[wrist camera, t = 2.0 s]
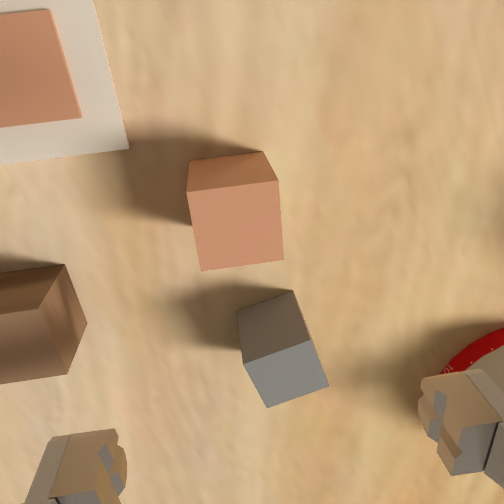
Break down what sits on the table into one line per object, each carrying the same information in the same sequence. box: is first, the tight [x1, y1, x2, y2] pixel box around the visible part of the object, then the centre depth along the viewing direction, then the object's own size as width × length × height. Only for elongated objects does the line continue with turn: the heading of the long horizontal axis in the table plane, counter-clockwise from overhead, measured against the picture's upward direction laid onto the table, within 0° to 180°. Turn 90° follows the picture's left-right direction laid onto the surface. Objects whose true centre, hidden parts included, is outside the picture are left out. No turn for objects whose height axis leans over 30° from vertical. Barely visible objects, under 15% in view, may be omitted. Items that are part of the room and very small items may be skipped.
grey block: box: [236, 290, 329, 408], centre depth 28 cm, size 4×4×6 cm
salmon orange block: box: [186, 152, 284, 271], centre depth 23 cm, size 4×4×6 cm
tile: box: [0, 0, 130, 165], centre depth 20 cm, size 9×9×1 cm
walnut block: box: [0, 264, 87, 384], centre depth 25 cm, size 5×5×5 cm
